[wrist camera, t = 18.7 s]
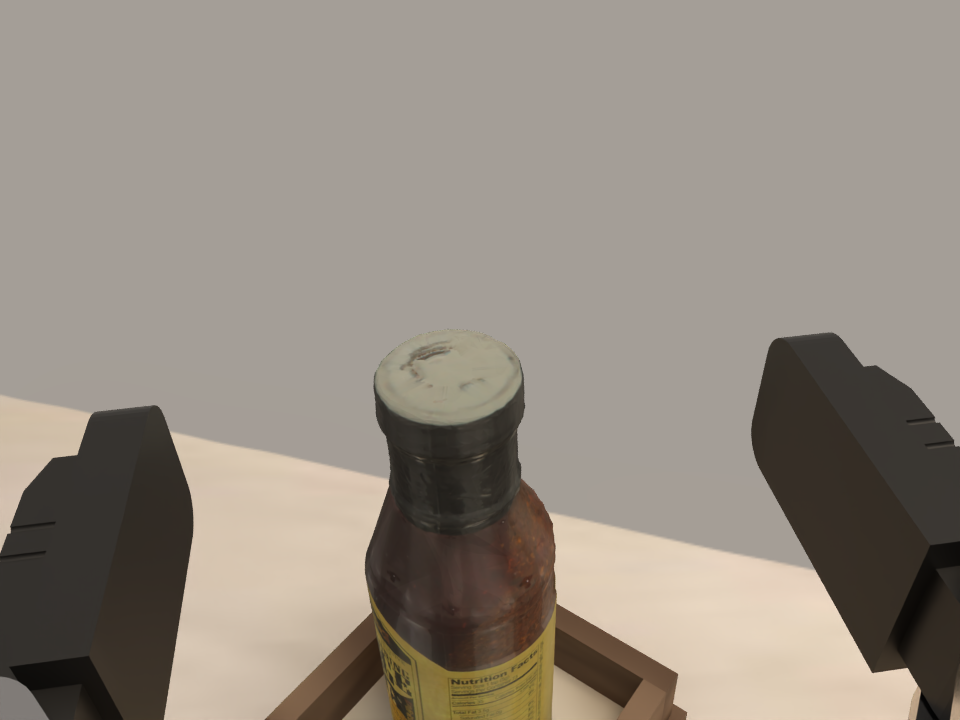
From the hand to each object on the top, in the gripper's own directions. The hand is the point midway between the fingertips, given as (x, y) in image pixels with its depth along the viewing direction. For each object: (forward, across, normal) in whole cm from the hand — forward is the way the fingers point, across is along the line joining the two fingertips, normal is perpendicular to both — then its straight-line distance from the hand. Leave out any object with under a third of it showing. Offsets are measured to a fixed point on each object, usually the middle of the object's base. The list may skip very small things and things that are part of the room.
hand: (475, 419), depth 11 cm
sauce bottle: (+9, 0, +27) cm, 28 cm away
